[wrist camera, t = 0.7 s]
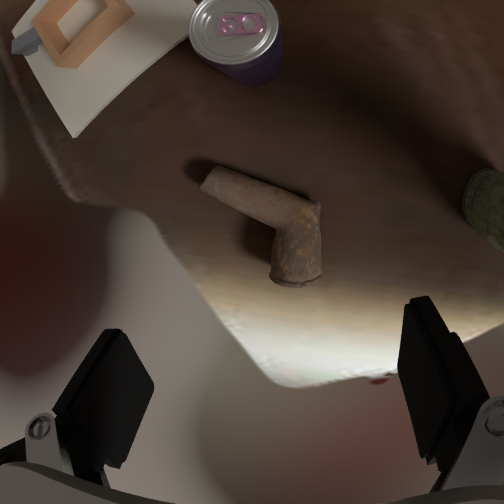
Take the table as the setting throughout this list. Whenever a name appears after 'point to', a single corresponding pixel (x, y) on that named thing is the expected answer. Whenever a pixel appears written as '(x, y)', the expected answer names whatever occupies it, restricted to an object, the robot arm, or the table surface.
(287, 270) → the pipe
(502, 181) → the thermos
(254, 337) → the table surface
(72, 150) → the table surface
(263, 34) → the beverage can
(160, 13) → the white board with box
